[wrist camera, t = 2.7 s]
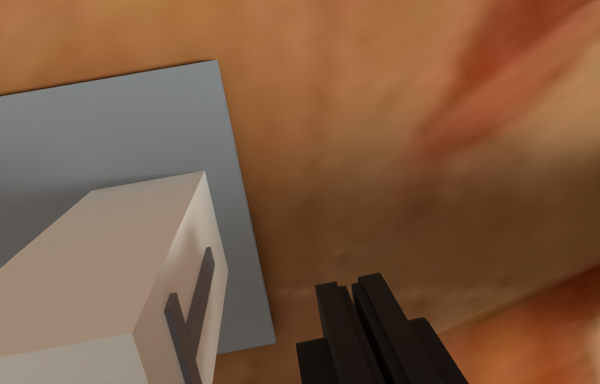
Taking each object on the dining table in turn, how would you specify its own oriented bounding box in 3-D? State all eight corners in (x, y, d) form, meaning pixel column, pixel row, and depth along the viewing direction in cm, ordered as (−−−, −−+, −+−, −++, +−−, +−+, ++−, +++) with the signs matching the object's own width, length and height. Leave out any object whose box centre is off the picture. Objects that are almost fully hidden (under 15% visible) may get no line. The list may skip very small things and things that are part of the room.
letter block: (208, 169, 20) (140, 331, 9) (231, 269, 22) (200, 518, 10) (91, 190, 20) (-135, 383, 8) (123, 289, 21) (-31, 564, 10)
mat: (217, 59, 19) (216, 59, 19) (275, 336, 24) (275, 343, 23) (-215, 133, 19) (-231, 135, 18) (-74, 402, 23) (-82, 411, 22)
